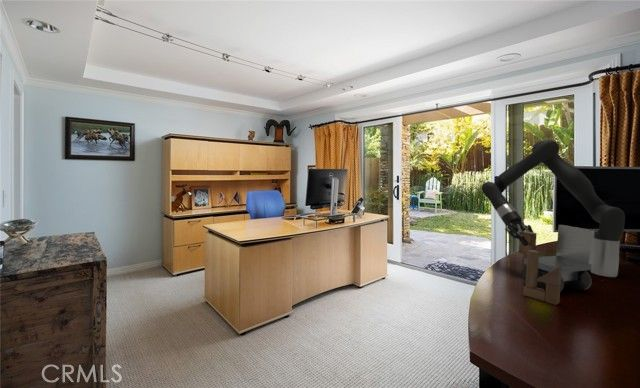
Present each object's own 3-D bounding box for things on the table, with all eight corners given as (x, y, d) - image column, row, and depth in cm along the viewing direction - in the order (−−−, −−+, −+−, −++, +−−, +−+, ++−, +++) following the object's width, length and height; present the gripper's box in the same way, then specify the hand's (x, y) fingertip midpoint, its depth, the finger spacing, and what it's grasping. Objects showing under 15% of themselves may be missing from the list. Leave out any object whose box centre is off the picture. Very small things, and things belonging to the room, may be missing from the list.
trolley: (553, 279, 137) (557, 224, 136) (593, 292, 122) (598, 230, 120) (519, 282, 132) (523, 225, 130) (556, 297, 117) (561, 232, 115)
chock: (525, 252, 142) (526, 231, 141) (535, 254, 137) (536, 233, 137) (518, 252, 141) (519, 231, 140) (528, 255, 136) (529, 233, 136)
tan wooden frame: (556, 305, 109) (559, 256, 108) (522, 295, 118) (525, 250, 117) (559, 303, 111) (563, 255, 110) (526, 293, 120) (529, 249, 119)
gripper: (502, 210, 144) (524, 241, 133) (525, 210, 147) (548, 239, 137) (492, 220, 149) (512, 250, 138) (514, 219, 153) (536, 248, 142)
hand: (530, 244), depth 137 cm, fingers closed on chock, 4 cm apart
